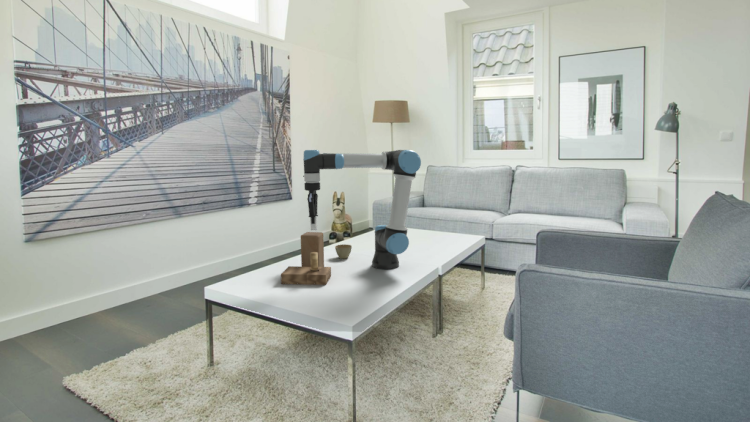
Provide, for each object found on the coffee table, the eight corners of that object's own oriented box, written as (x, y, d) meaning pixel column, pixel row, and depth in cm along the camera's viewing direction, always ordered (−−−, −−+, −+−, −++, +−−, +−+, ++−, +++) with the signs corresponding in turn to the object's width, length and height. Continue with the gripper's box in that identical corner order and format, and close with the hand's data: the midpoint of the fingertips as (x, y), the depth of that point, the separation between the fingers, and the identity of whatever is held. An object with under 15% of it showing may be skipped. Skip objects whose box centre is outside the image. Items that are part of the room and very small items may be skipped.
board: (331, 276, 222) (330, 266, 221) (326, 284, 208) (325, 274, 208) (289, 275, 224) (288, 266, 223) (281, 284, 210) (280, 274, 209)
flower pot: (335, 256, 264) (335, 244, 263) (351, 255, 265) (351, 244, 264) (335, 260, 254) (335, 248, 253) (352, 259, 255) (352, 247, 254)
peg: (319, 279, 217) (318, 252, 215) (317, 281, 214) (316, 254, 212) (311, 279, 218) (311, 252, 216) (310, 281, 214) (309, 253, 212)
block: (318, 272, 229) (317, 235, 226) (301, 271, 231) (299, 235, 228) (324, 267, 239) (323, 232, 236) (307, 266, 241) (306, 231, 238)
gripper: (307, 181, 215) (309, 227, 219) (301, 183, 202) (303, 232, 206) (322, 180, 215) (323, 227, 218) (317, 183, 202) (318, 232, 205)
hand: (313, 229), depth 212 cm, fingers closed
